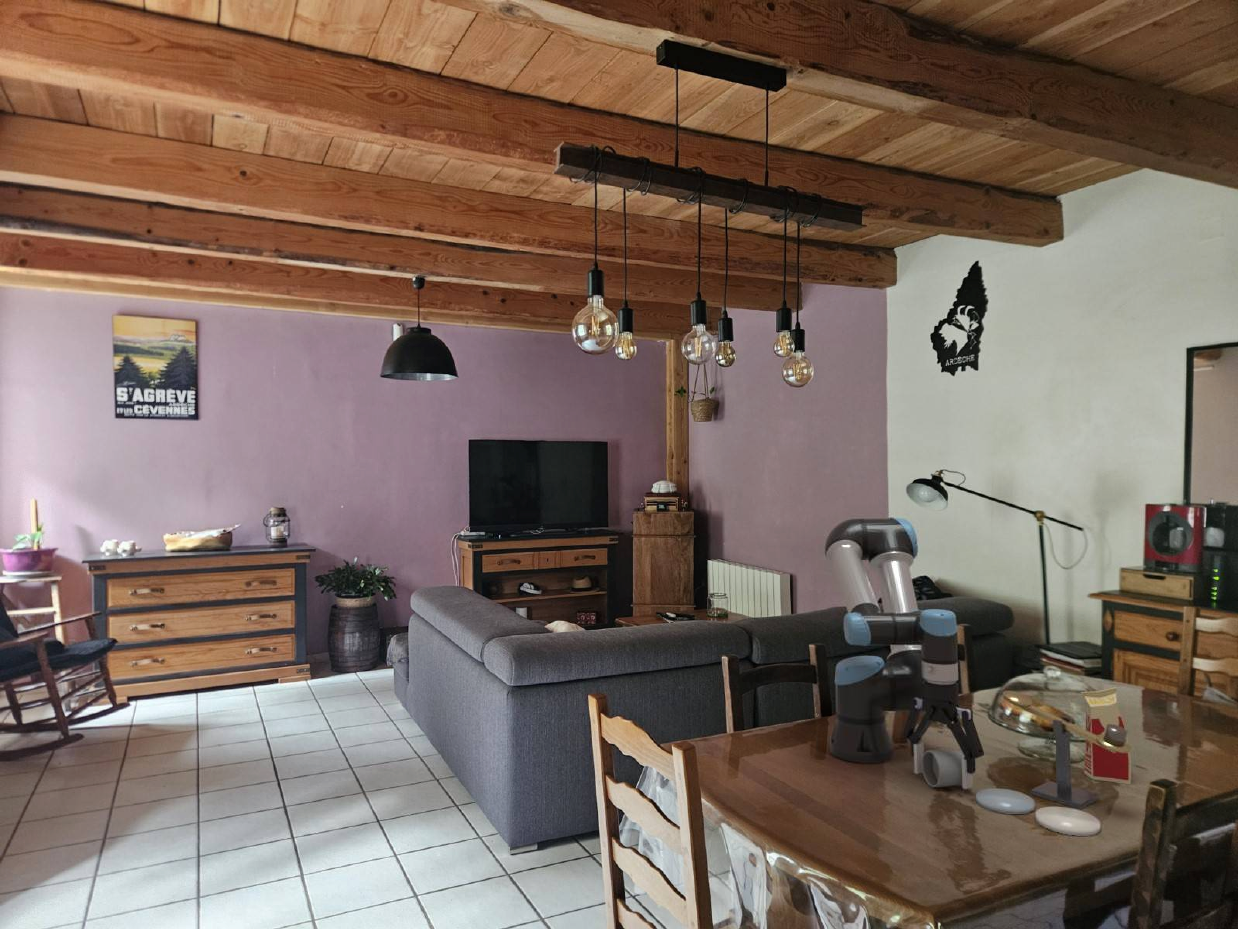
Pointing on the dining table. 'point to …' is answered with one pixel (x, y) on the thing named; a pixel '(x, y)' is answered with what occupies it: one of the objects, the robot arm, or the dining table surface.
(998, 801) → the plate near greyblue
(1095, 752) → the milk carton
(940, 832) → the dining table surface
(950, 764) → the ceramic mug
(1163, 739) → the dining table surface
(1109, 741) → the balance beam
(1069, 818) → the plate far cream
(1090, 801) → the balance stand
